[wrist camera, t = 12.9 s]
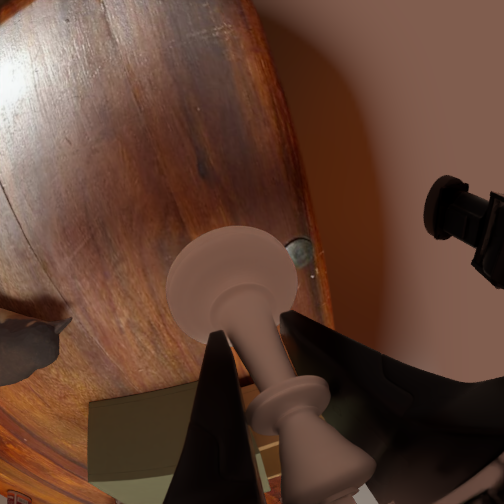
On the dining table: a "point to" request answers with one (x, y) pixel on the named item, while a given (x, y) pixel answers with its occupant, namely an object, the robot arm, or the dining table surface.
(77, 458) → the dining table surface
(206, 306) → the chess piece
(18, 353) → the decorative bird
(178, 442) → the cabinet
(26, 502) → the pill bottle
